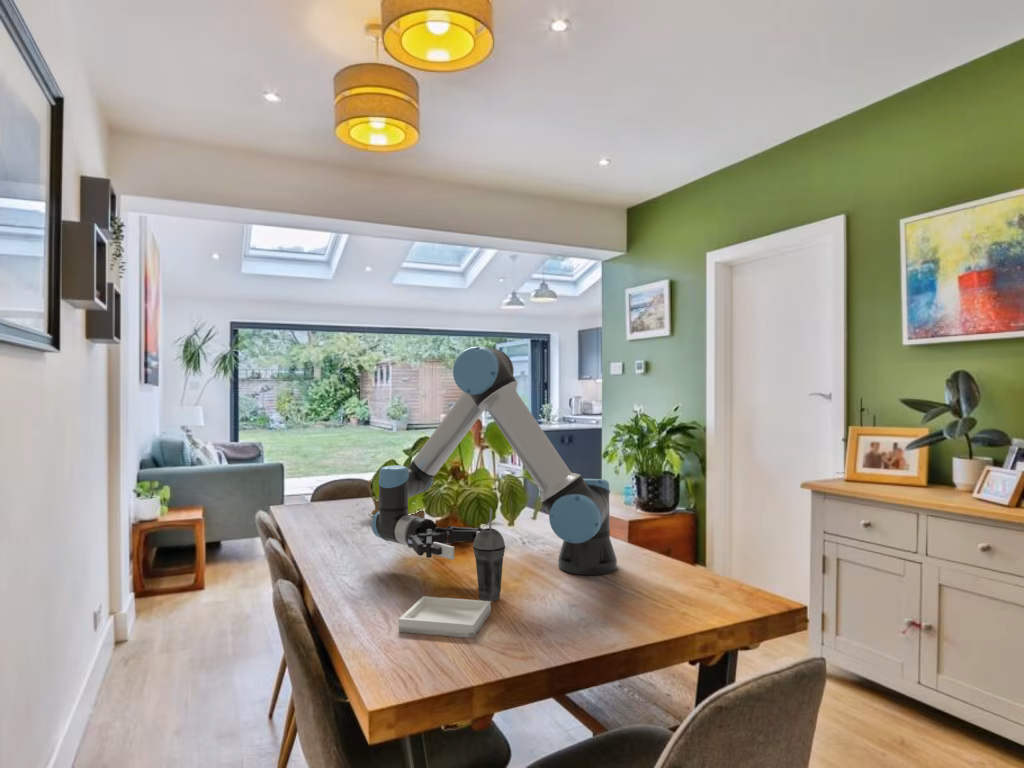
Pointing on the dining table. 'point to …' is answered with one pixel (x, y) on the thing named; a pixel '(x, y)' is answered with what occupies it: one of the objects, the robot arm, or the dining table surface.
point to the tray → (445, 617)
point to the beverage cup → (489, 562)
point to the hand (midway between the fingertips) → (475, 547)
